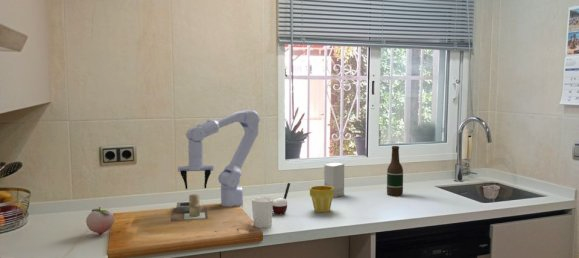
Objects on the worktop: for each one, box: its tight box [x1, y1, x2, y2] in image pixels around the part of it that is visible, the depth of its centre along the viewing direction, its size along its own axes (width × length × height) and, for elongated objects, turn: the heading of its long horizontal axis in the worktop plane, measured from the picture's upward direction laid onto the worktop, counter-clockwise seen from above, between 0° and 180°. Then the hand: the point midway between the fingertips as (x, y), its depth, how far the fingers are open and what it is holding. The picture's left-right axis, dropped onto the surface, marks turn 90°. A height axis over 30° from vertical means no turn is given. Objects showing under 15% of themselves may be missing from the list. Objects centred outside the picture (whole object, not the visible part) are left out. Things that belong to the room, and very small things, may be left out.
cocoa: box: [272, 182, 291, 215], centre depth 187 cm, size 10×6×12 cm, turn 102°
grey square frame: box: [175, 201, 189, 213], centre depth 187 cm, size 8×8×2 cm
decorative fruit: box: [85, 206, 115, 235], centre depth 159 cm, size 9×8×10 cm
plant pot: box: [309, 185, 334, 213], centre depth 191 cm, size 10×10×10 cm
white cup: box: [251, 196, 274, 229], centre depth 170 cm, size 8×8×10 cm
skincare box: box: [323, 162, 345, 199], centre depth 219 cm, size 8×7×16 cm
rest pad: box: [184, 212, 205, 221], centre depth 178 cm, size 8×8×1 cm
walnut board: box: [170, 205, 209, 222], centre depth 183 cm, size 14×21×2 cm, turn 12°
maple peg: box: [188, 194, 201, 217], centre depth 178 cm, size 4×4×8 cm
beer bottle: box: [386, 145, 404, 198], centre depth 219 cm, size 8×8×24 cm
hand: (195, 188), depth 188 cm, fingers open, 7 cm apart
